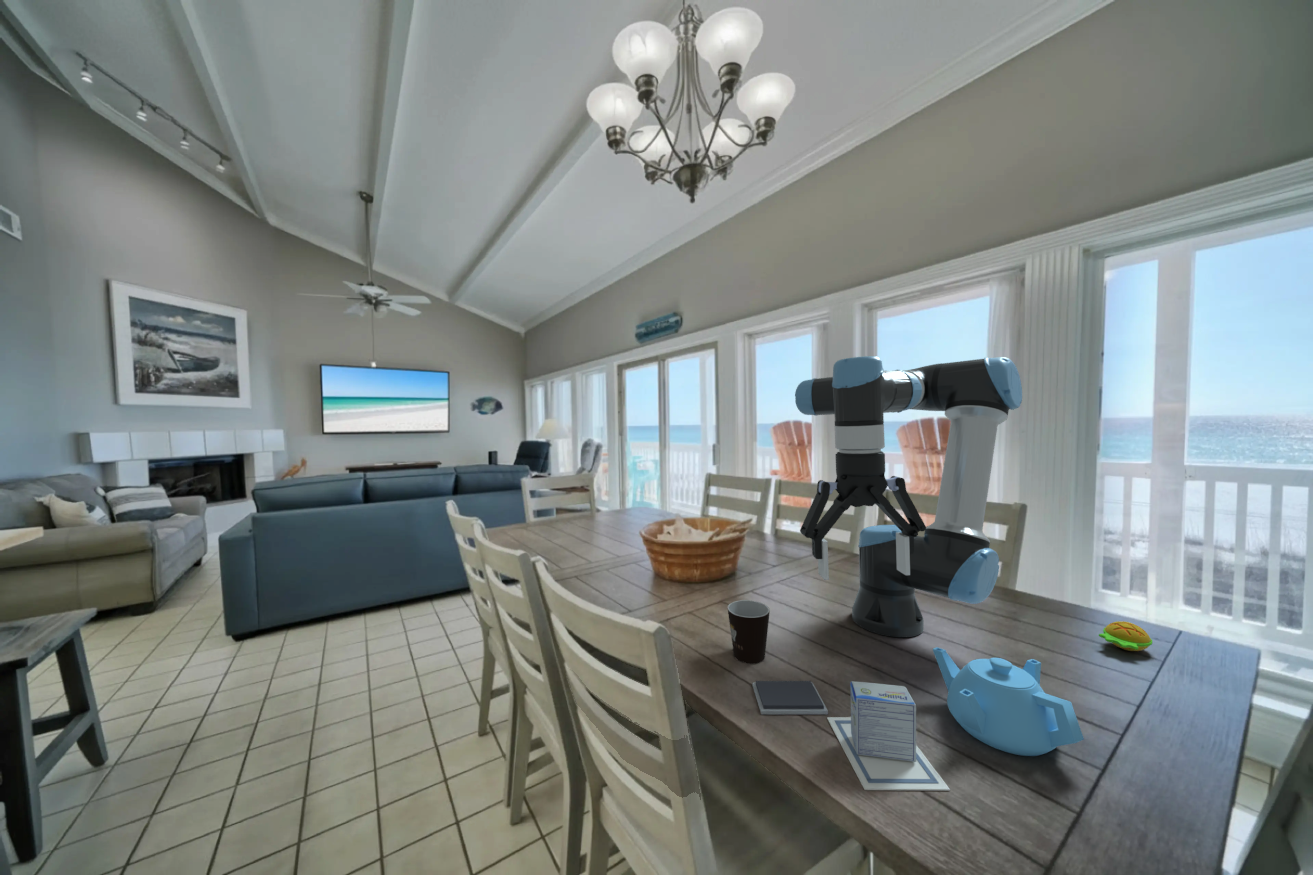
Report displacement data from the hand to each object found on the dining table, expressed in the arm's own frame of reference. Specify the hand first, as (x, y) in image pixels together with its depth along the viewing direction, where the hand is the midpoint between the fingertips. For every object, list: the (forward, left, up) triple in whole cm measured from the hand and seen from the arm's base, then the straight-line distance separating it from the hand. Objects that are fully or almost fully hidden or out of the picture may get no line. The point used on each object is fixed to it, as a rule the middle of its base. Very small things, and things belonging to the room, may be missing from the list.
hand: (863, 574), depth 74 cm
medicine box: (+2, +11, -22) cm, 25 cm away
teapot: (-18, +6, -23) cm, 30 cm away
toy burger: (-60, -17, -23) cm, 67 cm away
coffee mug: (+17, -17, -23) cm, 33 cm away
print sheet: (+2, +11, -22) cm, 25 cm away
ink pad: (+13, -1, -22) cm, 26 cm away
